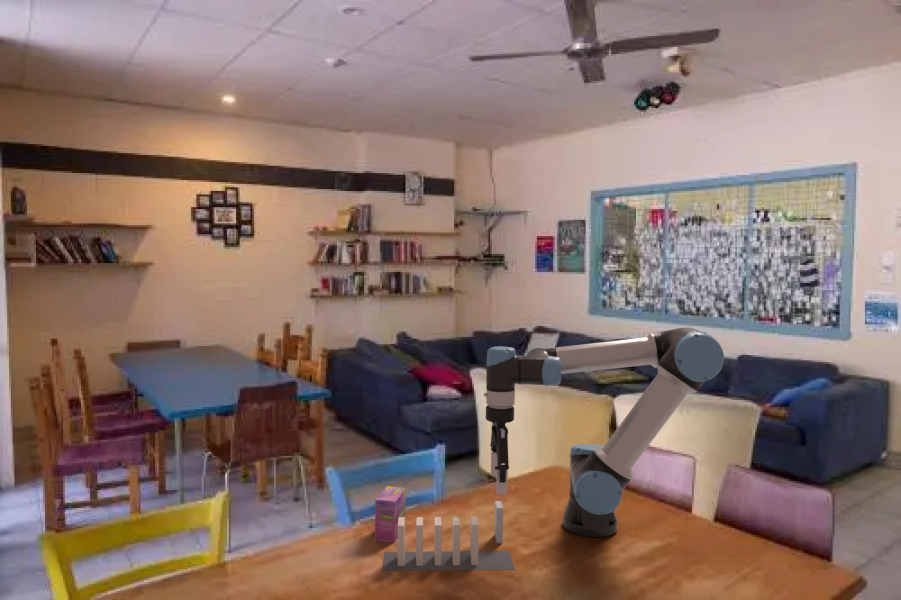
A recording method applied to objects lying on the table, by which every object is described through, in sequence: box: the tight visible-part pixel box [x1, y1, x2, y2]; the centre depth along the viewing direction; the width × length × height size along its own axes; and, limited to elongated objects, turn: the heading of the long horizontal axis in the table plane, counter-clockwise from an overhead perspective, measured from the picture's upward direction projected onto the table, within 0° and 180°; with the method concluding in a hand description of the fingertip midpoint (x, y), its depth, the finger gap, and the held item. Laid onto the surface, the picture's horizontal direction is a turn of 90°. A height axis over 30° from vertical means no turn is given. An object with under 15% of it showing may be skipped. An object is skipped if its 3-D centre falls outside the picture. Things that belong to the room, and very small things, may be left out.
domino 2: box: [415, 516, 424, 566], centre depth 156 cm, size 2×5×10 cm, turn 2°
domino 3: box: [433, 516, 443, 565], centre depth 156 cm, size 2×5×10 cm, turn 2°
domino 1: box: [397, 516, 406, 566], centre depth 156 cm, size 2×5×10 cm, turn 2°
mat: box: [381, 550, 516, 572], centre depth 157 cm, size 32×10×1 cm, turn 92°
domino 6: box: [494, 500, 504, 544], centre depth 169 cm, size 2×5×10 cm, turn 2°
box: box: [374, 485, 407, 543], centre depth 172 cm, size 10×6×12 cm, turn 168°
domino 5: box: [469, 516, 479, 565], centre depth 157 cm, size 2×5×10 cm, turn 2°
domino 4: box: [451, 516, 461, 565], centre depth 157 cm, size 2×5×10 cm, turn 2°
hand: (498, 484), depth 169 cm, fingers open, 13 cm apart
